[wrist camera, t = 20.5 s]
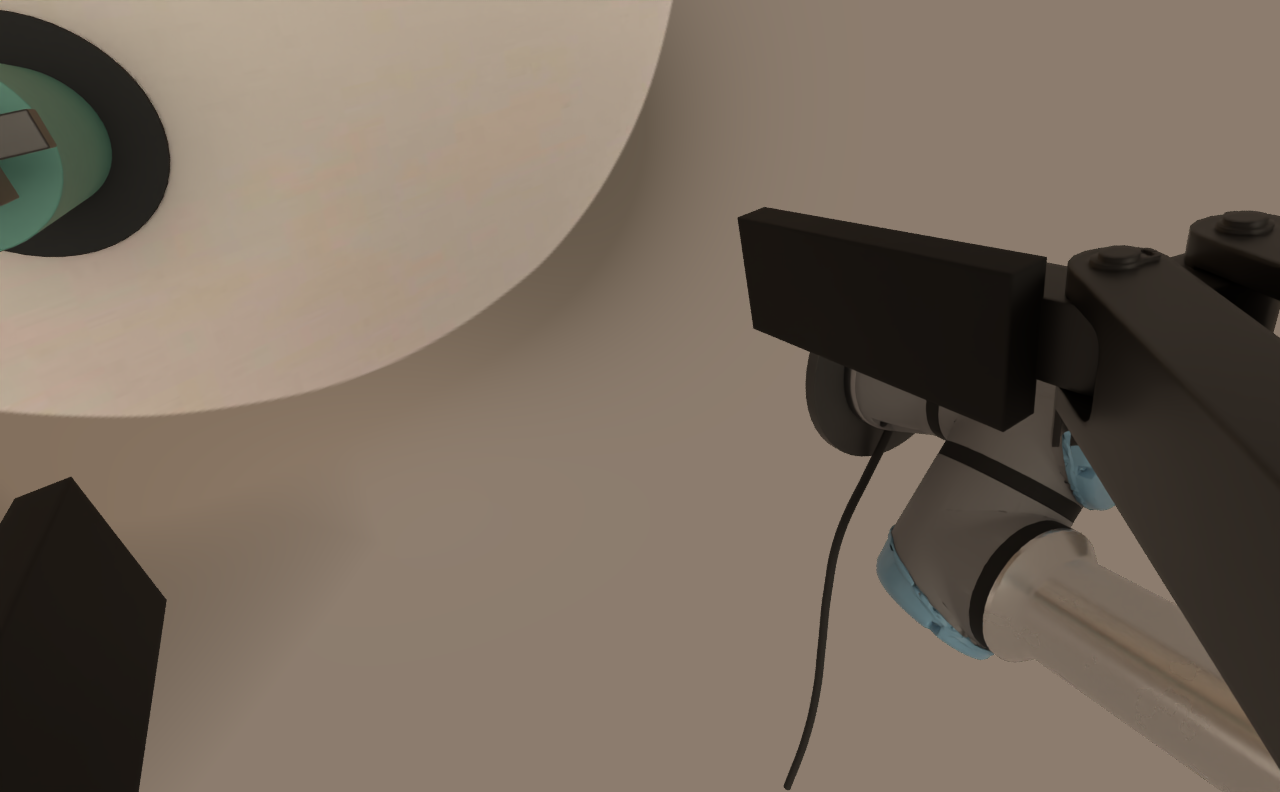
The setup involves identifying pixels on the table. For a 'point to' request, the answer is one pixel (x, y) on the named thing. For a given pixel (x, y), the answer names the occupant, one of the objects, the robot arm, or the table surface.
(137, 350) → the table surface
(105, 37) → the table surface
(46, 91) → the spray bottle
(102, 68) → the black round coaster
